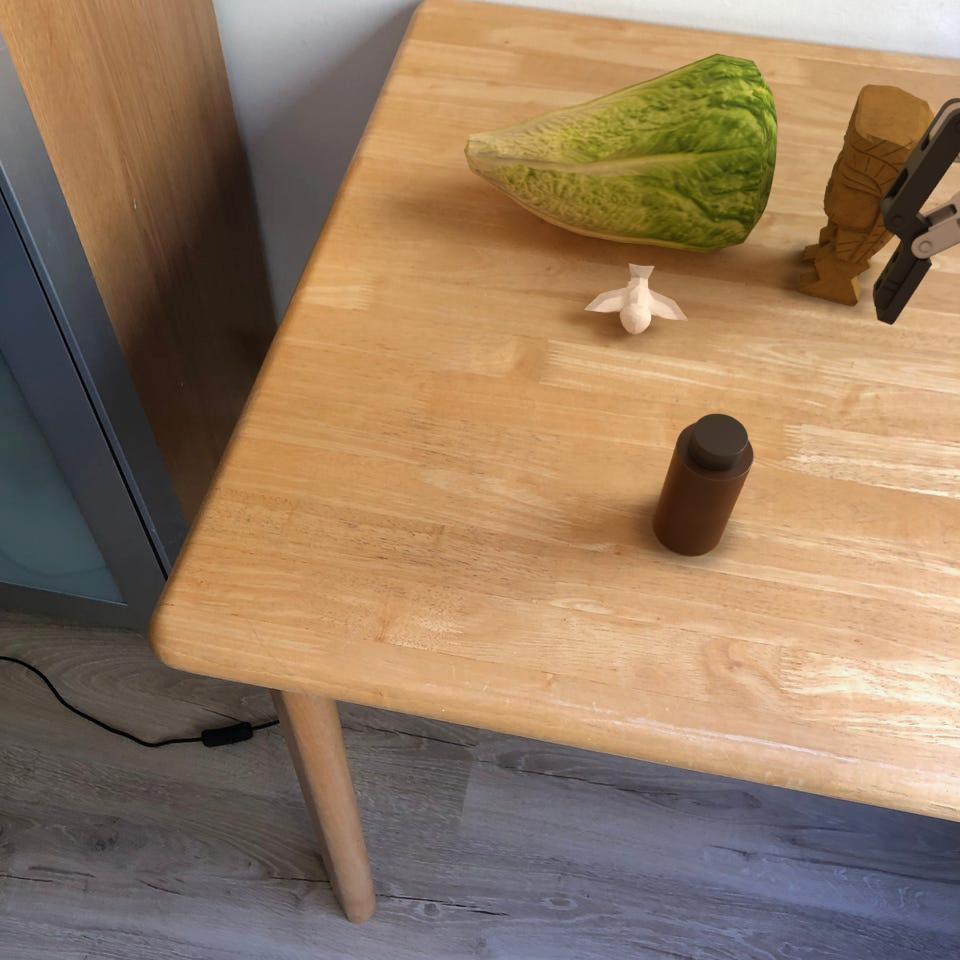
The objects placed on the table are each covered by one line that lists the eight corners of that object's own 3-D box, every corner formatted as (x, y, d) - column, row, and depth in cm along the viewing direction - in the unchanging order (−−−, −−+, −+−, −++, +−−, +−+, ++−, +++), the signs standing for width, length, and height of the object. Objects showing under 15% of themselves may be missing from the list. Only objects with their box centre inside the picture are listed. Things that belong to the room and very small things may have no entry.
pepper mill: (735, 528, 64) (776, 435, 56) (692, 569, 63) (728, 479, 54) (681, 487, 66) (714, 391, 58) (638, 525, 64) (665, 432, 56)
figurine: (800, 242, 81) (862, 78, 69) (879, 259, 80) (956, 96, 68) (789, 297, 77) (853, 134, 65) (872, 316, 76) (953, 154, 64)
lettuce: (463, 282, 79) (474, 181, 89) (766, 280, 77) (743, 177, 87) (451, 115, 68) (465, 21, 78) (804, 109, 66) (772, 13, 76)
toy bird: (580, 335, 73) (588, 276, 71) (581, 311, 77) (589, 254, 75) (686, 346, 73) (698, 288, 70) (682, 321, 77) (693, 265, 74)
